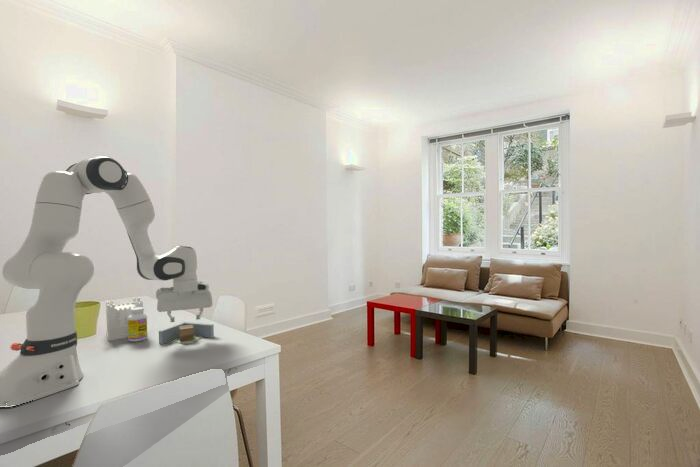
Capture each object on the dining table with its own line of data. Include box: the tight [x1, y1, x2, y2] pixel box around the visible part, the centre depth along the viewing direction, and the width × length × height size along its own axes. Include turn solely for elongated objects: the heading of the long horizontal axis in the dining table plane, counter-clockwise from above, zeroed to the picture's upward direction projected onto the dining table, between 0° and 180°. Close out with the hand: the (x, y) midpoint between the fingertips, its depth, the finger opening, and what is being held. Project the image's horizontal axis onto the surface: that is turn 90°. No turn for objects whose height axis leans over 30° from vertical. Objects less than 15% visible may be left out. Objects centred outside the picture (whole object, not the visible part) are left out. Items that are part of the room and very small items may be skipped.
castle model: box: [105, 296, 144, 342], centre depth 155 cm, size 13×15×14 cm
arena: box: [158, 321, 215, 345], centre depth 145 cm, size 14×15×5 cm
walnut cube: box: [179, 325, 194, 342], centre depth 145 cm, size 5×5×5 cm
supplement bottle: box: [128, 306, 148, 343], centre depth 146 cm, size 7×7×13 cm
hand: (185, 320), depth 144 cm, fingers open, 8 cm apart
